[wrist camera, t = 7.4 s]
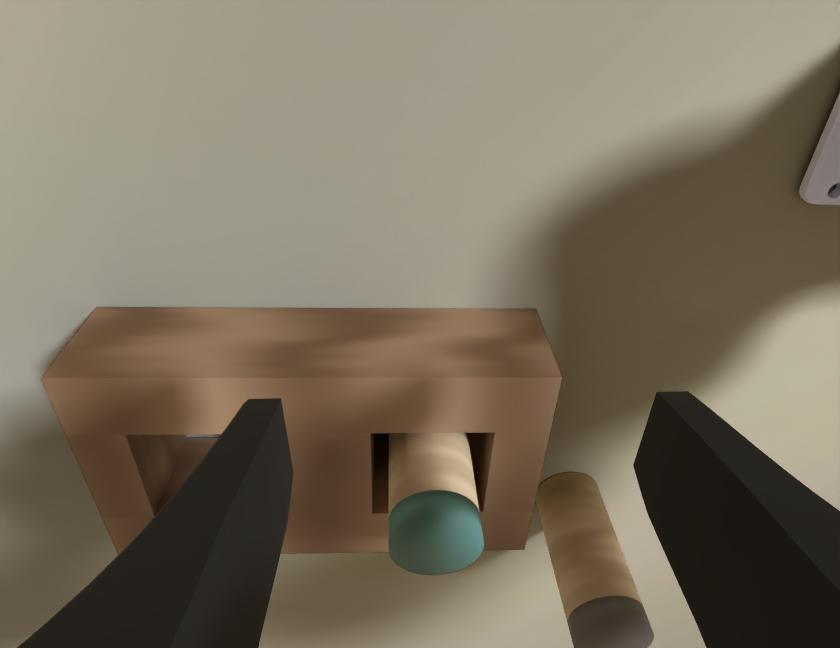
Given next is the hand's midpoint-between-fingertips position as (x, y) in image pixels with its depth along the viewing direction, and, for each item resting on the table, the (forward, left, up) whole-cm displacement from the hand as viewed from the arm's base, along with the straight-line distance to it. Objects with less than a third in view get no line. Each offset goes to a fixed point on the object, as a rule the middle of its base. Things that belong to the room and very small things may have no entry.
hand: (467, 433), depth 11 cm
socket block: (+4, +8, -10) cm, 13 cm away
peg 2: (-7, +14, -10) cm, 18 cm away
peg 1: (0, +8, -10) cm, 13 cm away
